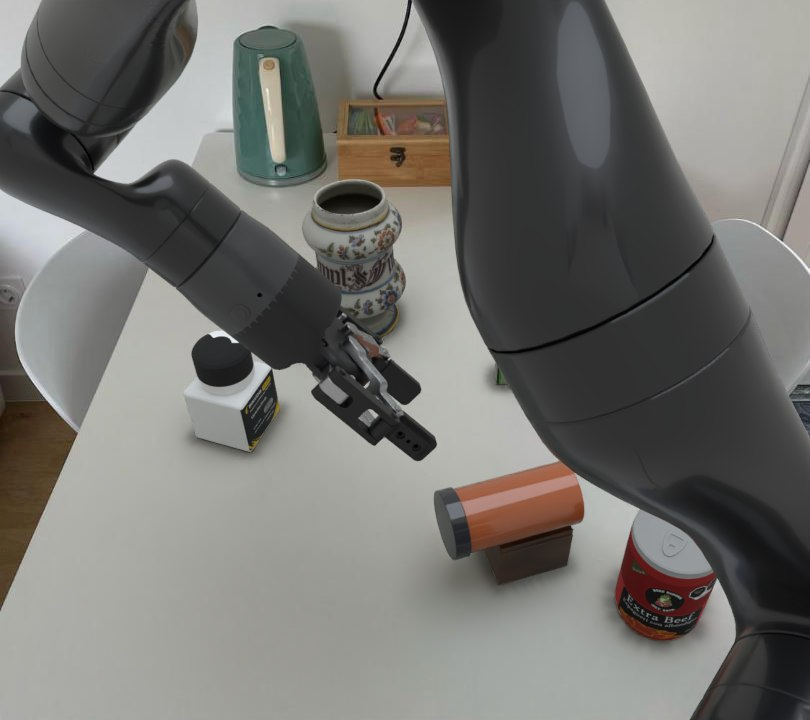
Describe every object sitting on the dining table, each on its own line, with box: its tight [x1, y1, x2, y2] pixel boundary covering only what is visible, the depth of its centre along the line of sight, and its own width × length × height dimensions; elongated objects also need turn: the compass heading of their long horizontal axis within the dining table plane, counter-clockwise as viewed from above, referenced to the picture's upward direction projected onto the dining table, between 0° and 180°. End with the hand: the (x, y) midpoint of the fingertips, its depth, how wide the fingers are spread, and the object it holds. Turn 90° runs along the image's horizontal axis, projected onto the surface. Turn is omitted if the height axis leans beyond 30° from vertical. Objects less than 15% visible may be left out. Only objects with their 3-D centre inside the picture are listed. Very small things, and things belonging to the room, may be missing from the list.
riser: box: [482, 526, 574, 586], centre depth 76 cm, size 7×5×6 cm
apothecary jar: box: [301, 178, 407, 338], centre depth 99 cm, size 12×12×18 cm
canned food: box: [614, 509, 718, 642], centre depth 70 cm, size 8×8×11 cm
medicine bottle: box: [182, 329, 281, 453], centre depth 88 cm, size 7×7×12 cm
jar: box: [433, 460, 585, 561], centre depth 72 cm, size 12×6×6 cm, turn 107°
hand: (420, 422), depth 63 cm, fingers open, 8 cm apart
